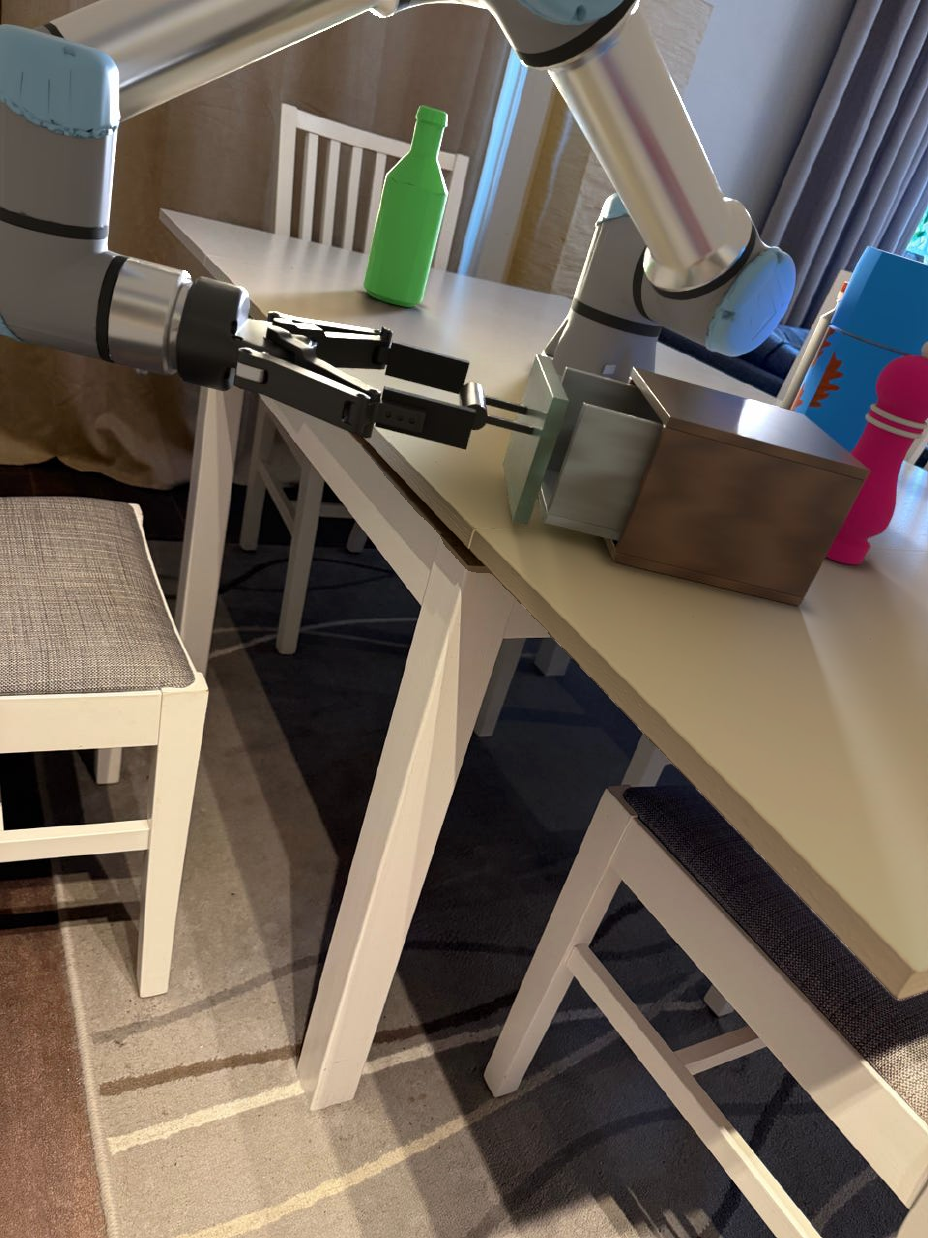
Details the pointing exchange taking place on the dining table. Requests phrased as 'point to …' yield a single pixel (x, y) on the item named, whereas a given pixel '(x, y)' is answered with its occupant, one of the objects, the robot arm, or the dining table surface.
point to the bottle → (409, 217)
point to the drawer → (572, 447)
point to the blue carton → (865, 343)
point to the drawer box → (736, 493)
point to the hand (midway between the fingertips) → (468, 401)
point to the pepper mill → (884, 452)
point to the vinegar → (810, 354)
